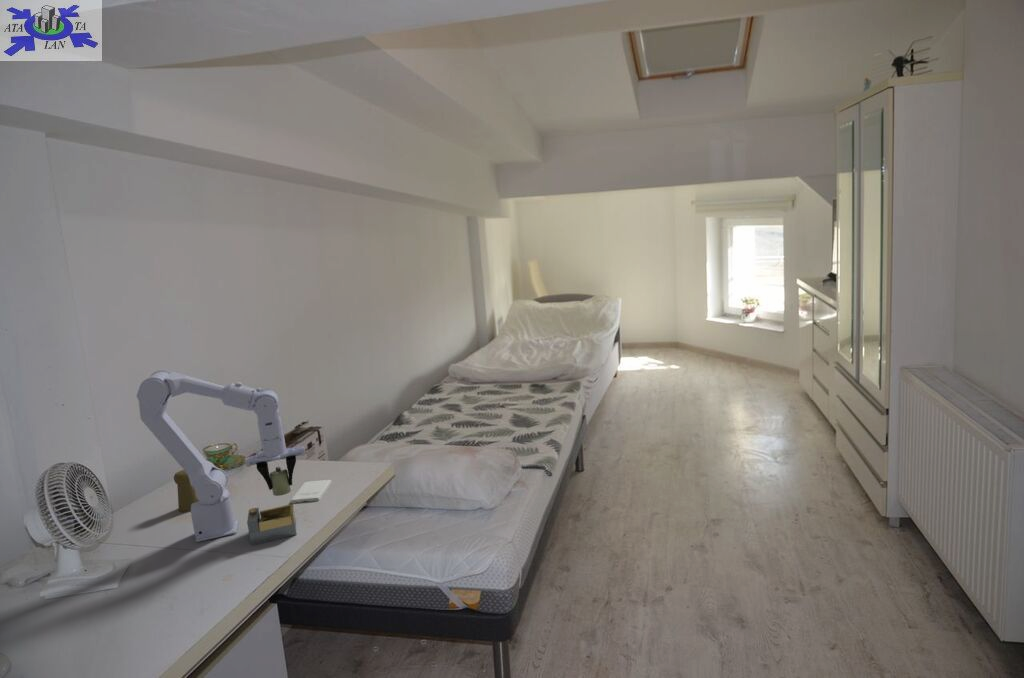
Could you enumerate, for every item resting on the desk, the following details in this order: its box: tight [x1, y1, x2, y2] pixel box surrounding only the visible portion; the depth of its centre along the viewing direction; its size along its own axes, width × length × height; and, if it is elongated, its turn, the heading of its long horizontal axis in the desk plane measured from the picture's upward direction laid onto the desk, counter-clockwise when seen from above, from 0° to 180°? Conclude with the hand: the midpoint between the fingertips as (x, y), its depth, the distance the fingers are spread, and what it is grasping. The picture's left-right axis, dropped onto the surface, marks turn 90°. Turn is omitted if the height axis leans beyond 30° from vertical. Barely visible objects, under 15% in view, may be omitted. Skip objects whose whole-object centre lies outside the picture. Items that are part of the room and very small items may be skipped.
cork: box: [173, 469, 199, 513], centre depth 185 cm, size 6×6×11 cm
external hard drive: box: [289, 479, 333, 504], centre depth 188 cm, size 2×8×12 cm
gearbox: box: [246, 503, 297, 546], centre depth 163 cm, size 10×8×7 cm
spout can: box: [269, 466, 292, 497], centre depth 171 cm, size 4×4×6 cm
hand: (280, 486), depth 171 cm, fingers closed on spout can, 4 cm apart
